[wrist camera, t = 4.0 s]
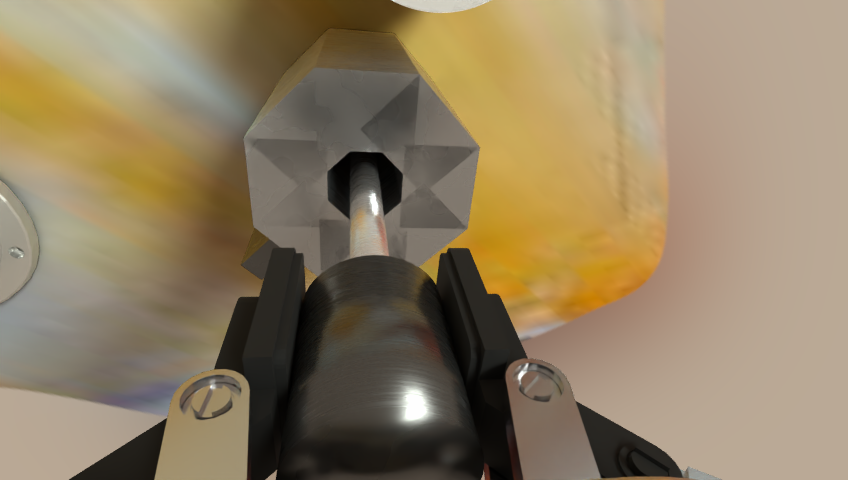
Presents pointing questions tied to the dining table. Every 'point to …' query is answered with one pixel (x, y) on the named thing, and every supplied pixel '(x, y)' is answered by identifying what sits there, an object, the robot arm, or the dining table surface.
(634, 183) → the dining table surface
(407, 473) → the plunger
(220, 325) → the dining table surface
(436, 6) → the light grey cylinder
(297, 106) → the octagonal faceted vessel
